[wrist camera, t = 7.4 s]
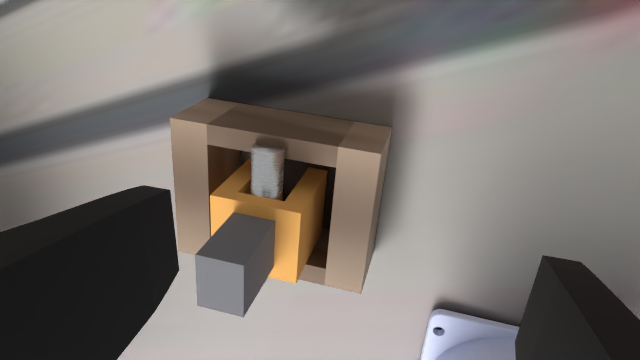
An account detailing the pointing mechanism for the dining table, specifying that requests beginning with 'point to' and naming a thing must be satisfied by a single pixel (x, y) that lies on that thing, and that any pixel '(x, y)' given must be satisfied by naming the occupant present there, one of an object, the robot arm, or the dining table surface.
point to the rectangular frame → (268, 172)
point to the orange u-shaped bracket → (257, 239)
